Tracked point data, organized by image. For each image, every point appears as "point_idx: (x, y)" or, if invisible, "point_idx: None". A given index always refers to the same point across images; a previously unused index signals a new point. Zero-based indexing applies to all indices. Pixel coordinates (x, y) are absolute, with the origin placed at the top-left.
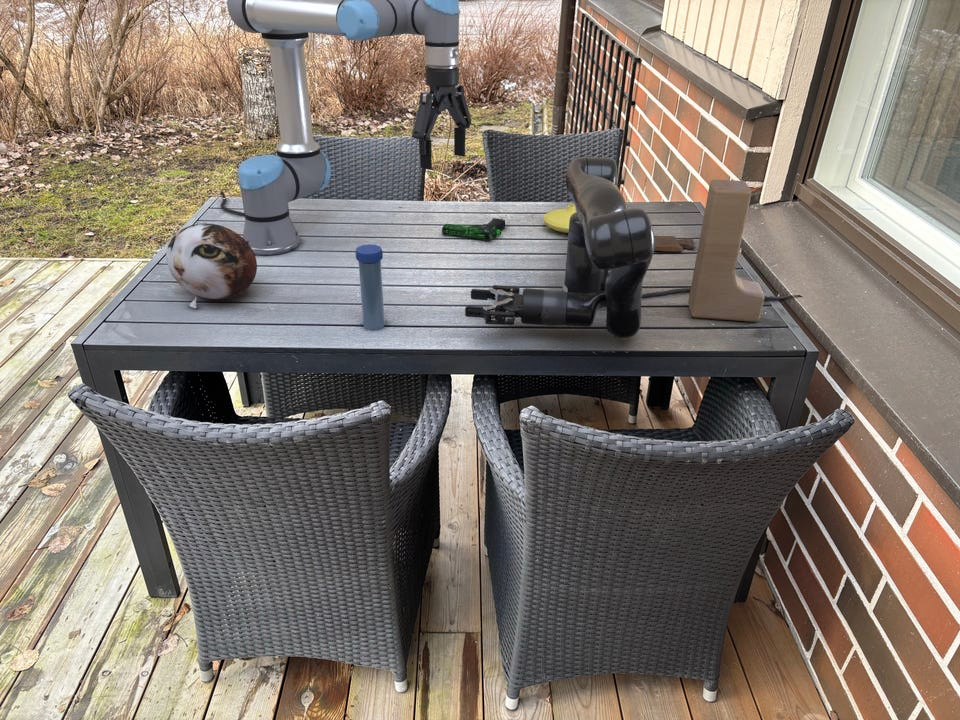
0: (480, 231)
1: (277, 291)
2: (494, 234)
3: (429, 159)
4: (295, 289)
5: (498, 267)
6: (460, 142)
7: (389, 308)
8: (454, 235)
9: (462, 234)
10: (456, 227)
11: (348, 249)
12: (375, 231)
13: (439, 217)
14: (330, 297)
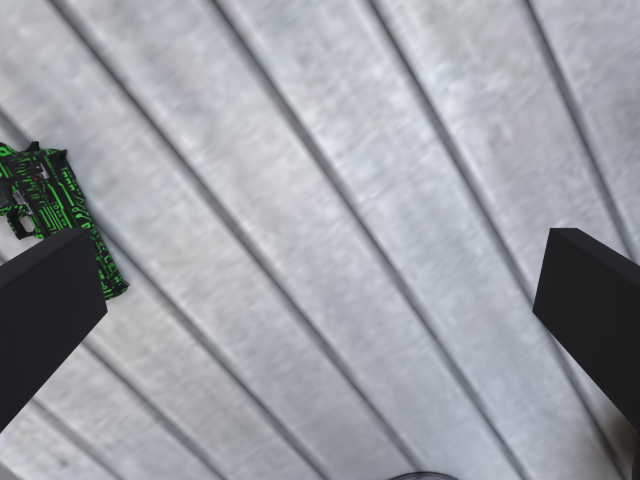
0: (56, 189)
1: None
2: (28, 150)
3: (632, 264)
4: None
5: (199, 9)
6: (19, 318)
7: (598, 112)
8: (109, 255)
9: (96, 235)
10: None
11: (348, 398)
12: (223, 418)
13: None
14: None
